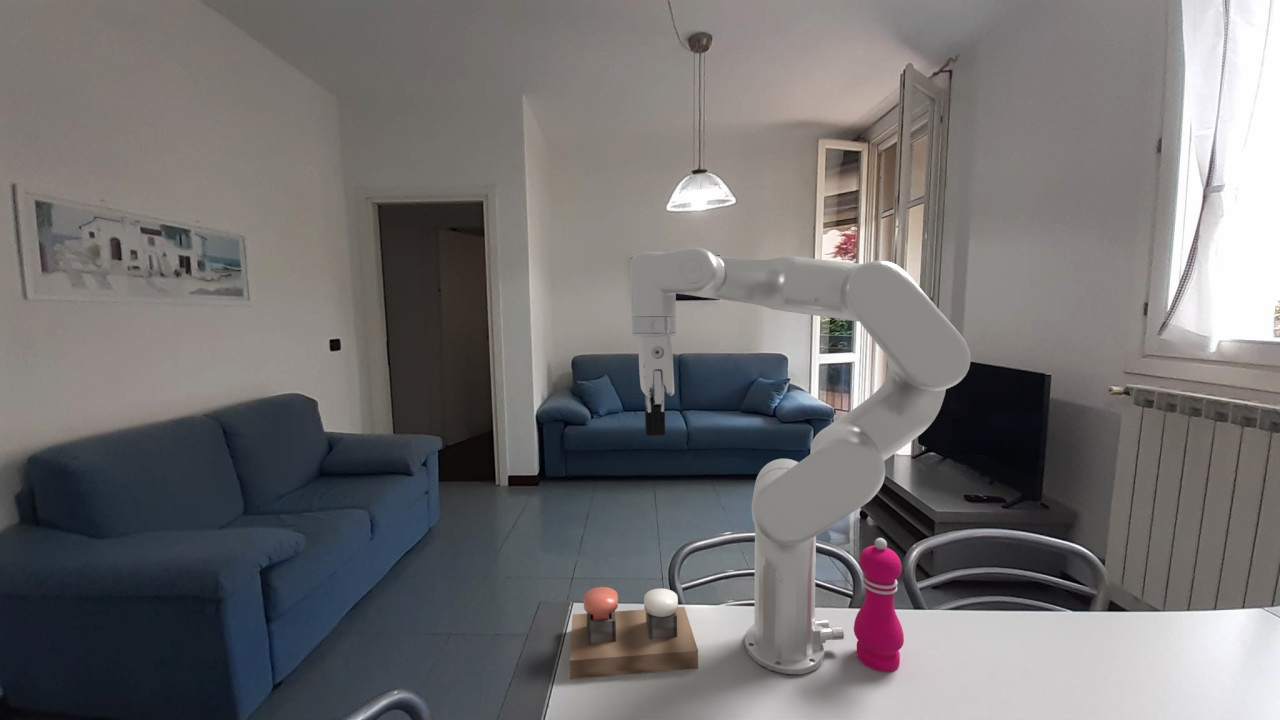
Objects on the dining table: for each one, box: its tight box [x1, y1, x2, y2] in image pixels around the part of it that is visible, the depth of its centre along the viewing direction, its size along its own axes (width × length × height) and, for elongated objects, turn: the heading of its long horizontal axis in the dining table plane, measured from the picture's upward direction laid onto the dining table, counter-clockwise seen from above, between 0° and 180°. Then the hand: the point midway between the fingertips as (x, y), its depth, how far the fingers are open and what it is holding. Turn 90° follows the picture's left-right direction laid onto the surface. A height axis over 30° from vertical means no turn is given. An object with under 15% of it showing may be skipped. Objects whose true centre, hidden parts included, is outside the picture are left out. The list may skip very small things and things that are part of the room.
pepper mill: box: [853, 537, 905, 673], centre depth 80 cm, size 7×7×20 cm
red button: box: [583, 586, 619, 620], centre depth 83 cm, size 6×6×5 cm
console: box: [568, 606, 699, 680], centre depth 84 cm, size 20×12×6 cm, turn 95°
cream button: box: [643, 588, 679, 617], centre depth 84 cm, size 6×6×5 cm
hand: (655, 434), depth 86 cm, fingers closed
